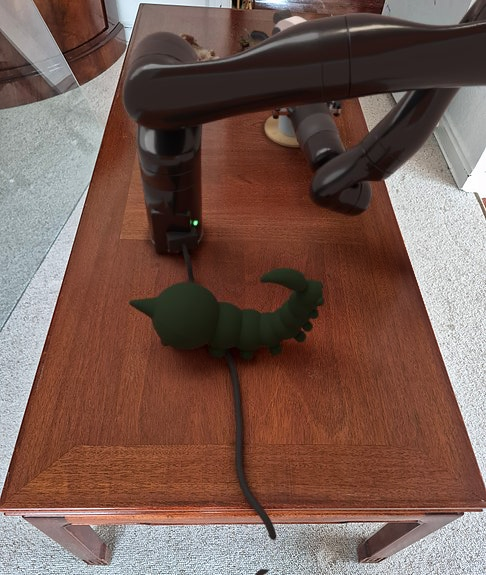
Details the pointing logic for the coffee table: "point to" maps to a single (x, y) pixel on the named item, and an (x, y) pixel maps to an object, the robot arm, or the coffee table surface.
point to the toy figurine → (232, 316)
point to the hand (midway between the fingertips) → (296, 83)
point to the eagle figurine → (252, 39)
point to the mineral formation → (199, 49)
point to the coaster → (279, 133)
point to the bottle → (286, 126)
